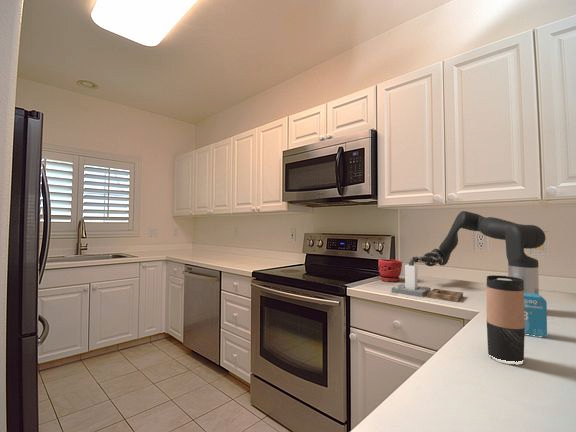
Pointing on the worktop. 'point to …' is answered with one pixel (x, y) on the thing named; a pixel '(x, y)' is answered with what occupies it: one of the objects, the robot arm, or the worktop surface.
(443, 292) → the brown square frame
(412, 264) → the plug
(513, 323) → the travel mug
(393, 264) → the plant pot
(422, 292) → the port plate
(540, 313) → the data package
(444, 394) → the worktop surface
